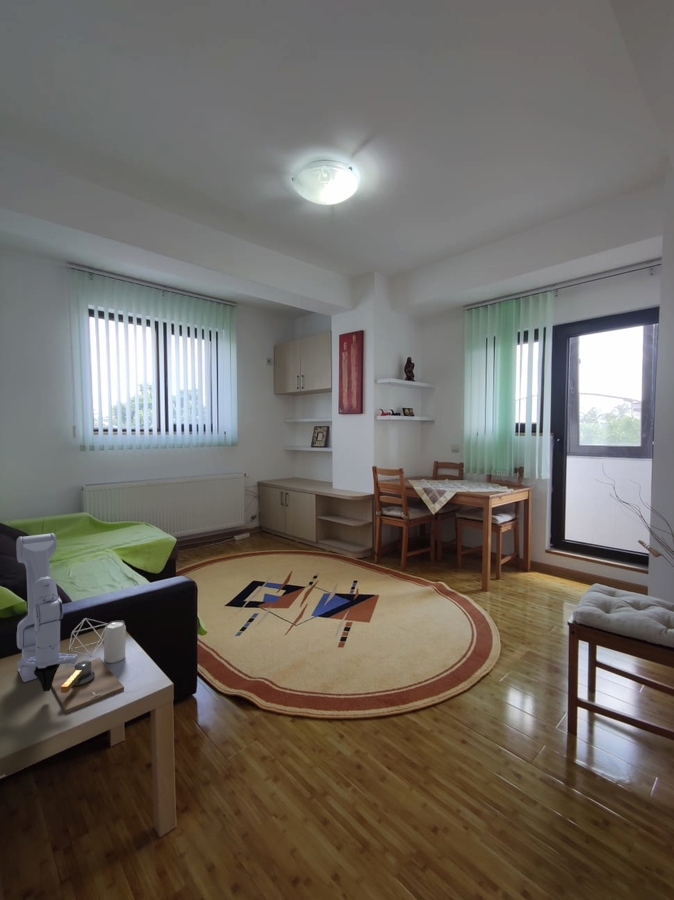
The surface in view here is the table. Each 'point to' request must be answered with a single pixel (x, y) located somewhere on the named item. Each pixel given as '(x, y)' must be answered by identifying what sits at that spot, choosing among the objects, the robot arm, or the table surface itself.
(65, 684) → the lever door handle
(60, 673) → the stand
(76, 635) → the geometric polyhedron
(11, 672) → the table surface
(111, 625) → the can
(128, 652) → the table surface
